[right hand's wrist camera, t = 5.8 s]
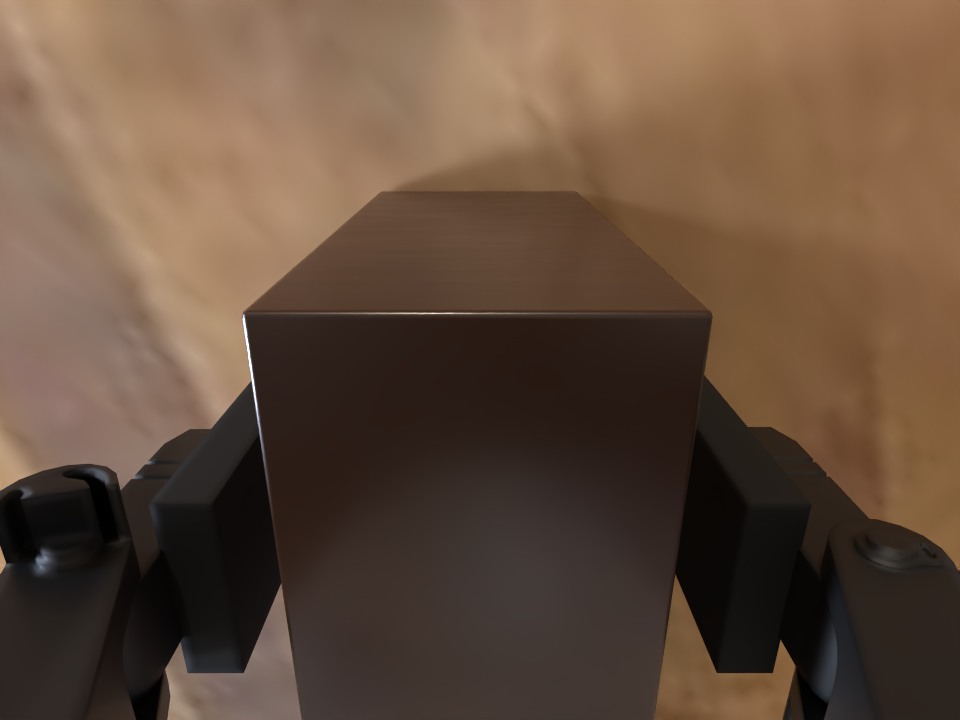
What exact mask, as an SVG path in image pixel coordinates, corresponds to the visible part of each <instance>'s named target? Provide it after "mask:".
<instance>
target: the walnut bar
mask: <svg viewBox="0 0 960 720" xmlns="http://www.w3.org/2000/svg"><path fill="white" fill-rule="evenodd" d="M242 320H243V327H244V334H245V340H246V347H247V354H248V361H249V367H250V374H251V381H252V387H253V394H254V401H255V408H256V414H257V421H258V428H259V435H260V441H261V448H262V455H263V462H264V468H265V475H266V482H267V489H268V495H269V502H270V509H271V516H272V522H273V529H274V536H275V543H276V549H277V556H278V563H279V569H280V576H281V583H282V590H283V596H284V603H285V610H286V617H287V623H288V630H289V637H290V644H291V650H292V657H293V664H294V671H295V677H296V684H297V691H298V698H299V704H300V711H301V718H302V720H654V716H655V709H656V702H657V695H658V688H659V681H660V675H661V668H662V661H663V654H664V647H665V640H666V633H667V626H668V619H669V613H670V606H671V599H672V592H673V585H674V578H675V571H676V564H677V557H678V551H679V544H680V537H681V530H682V523H683V516H684V509H685V502H686V495H687V489H688V482H689V475H690V468H691V461H692V454H693V447H694V440H695V433H696V427H697V420H698V413H699V406H700V399H701V392H702V385H703V378H704V371H705V365H706V358H707V351H708V344H709V337H710V330H711V323H712V314H711V311H709V310H708V309H707V308H706V307H705V306H704V305H703V304H702V303H700V302H699V301H698V300H697V299H696V298H695V297H694V296H693V295H692V294H690V293H689V292H688V291H687V290H686V289H685V288H684V287H683V286H681V285H680V284H679V283H678V282H677V281H676V280H675V279H674V278H673V277H671V276H670V275H669V274H668V273H667V272H666V271H665V270H664V269H662V268H661V267H660V266H659V265H658V264H657V263H656V262H655V261H654V260H652V259H651V258H650V257H649V256H648V255H647V254H646V253H645V252H643V251H642V250H641V249H640V248H639V247H638V246H637V245H636V244H635V243H633V242H632V241H631V240H630V239H629V238H628V237H627V236H626V235H624V234H623V233H622V232H621V231H620V230H619V229H618V228H617V227H616V226H614V225H613V224H612V223H611V222H610V221H609V220H608V219H607V218H605V217H604V216H603V215H602V214H601V213H600V212H599V211H598V210H597V209H595V208H594V207H593V206H592V205H591V204H590V203H589V202H588V201H586V200H585V199H584V198H583V197H582V196H581V195H580V194H579V193H577V192H380V193H379V194H378V195H377V196H376V197H374V198H373V199H372V200H371V201H370V202H369V203H368V204H366V205H365V206H364V207H363V208H362V209H361V210H360V211H358V212H357V213H356V214H355V215H354V216H353V217H352V218H350V219H349V220H348V221H347V222H346V223H345V224H343V225H342V226H341V227H340V228H339V229H338V230H337V231H335V232H334V233H333V234H332V235H331V236H330V237H329V238H327V239H326V240H325V241H324V242H323V243H322V244H321V245H319V246H318V247H317V248H316V249H315V250H314V251H313V252H311V253H310V254H309V255H308V256H307V257H306V258H305V259H303V260H302V261H301V262H300V263H299V264H298V265H297V266H295V267H294V268H293V269H292V270H291V271H290V272H289V273H287V274H286V275H285V276H284V277H283V278H282V279H280V280H279V281H278V282H277V283H276V284H275V285H274V286H272V287H271V288H270V289H269V290H268V291H267V292H266V293H264V294H263V295H262V296H261V297H260V298H259V299H258V300H256V301H255V302H254V303H253V304H252V305H251V306H250V307H248V308H247V309H246V310H245V311H244V312H243V315H242Z"/></svg>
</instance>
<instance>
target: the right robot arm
mask: <svg viewBox="0 0 960 720" xmlns="http://www.w3.org/2000/svg"><path fill="white" fill-rule="evenodd" d="M0 546H1V549H2V552H3V555H4V558H5V561H6V565H5V567H4V569H3V571H2V573H1V574H0V720H167V717H168V709H169V702H170V691H169V683H168V679H167V675H166V671H165V668H166V666H167V665H168V663H169V661H170V659H171V657H172V656H173V654H174V652H175V650H176V649H177V647H178V645H179V643H180V641H181V646H182V650H183V654H184V658H185V663H186V667H187V671H188V673H244V671H245V668H246V666H247V663H248V661H249V659H250V656H251V654H252V652H253V649H254V647H255V644H256V642H257V640H258V637H259V635H260V632H261V630H262V628H263V625H264V623H265V620H266V618H267V616H268V613H269V611H270V608H271V606H272V604H273V601H274V599H275V596H276V594H277V592H278V589H279V587H280V585H281V576H280V569H279V563H278V556H277V549H276V543H275V536H274V529H273V522H272V516H271V509H270V502H269V495H268V489H267V482H266V475H265V468H264V462H263V455H262V448H261V441H260V435H259V428H258V421H257V414H256V408H255V401H254V394H253V387H252V381H251V382H250V383H249V384H248V386H247V387H246V388H245V389H244V390H243V392H242V393H241V394H240V395H239V396H238V398H237V399H236V400H235V401H234V402H233V404H232V405H231V406H230V407H229V408H228V410H227V411H226V412H225V413H224V414H223V416H222V417H221V418H220V419H219V420H218V422H217V423H216V424H215V425H214V426H213V428H212V429H190V430H188V431H186V432H184V433H183V434H181V435H179V436H177V437H176V438H174V439H172V440H170V441H169V442H167V443H165V444H164V445H163V446H162V447H161V448H160V449H159V450H158V451H157V452H156V454H155V455H154V456H153V457H152V458H151V459H150V460H149V461H148V465H144V466H143V467H142V468H141V470H140V471H139V472H138V473H137V474H136V475H135V479H131V480H130V481H129V482H128V483H127V484H126V486H125V487H124V488H123V489H122V490H120V486H119V482H118V478H117V474H116V473H115V472H114V471H112V470H111V469H109V468H108V467H106V466H100V465H94V464H79V465H67V466H62V467H58V468H53V469H49V470H44V471H41V472H39V473H36V474H33V475H31V476H28V477H26V478H23V479H20V480H18V481H16V482H15V483H13V484H11V485H10V486H8V487H6V488H4V489H3V490H1V491H0ZM675 574H676V576H677V579H678V581H679V583H680V586H681V588H682V591H683V593H684V595H685V598H686V600H687V603H688V605H689V607H690V610H691V612H692V614H693V617H694V619H695V622H696V624H697V626H698V629H699V631H700V634H701V636H702V638H703V641H704V643H705V646H706V648H707V650H708V653H709V655H710V658H711V660H712V662H713V665H714V667H715V669H716V672H717V673H773V669H774V665H775V661H776V656H777V652H778V648H779V644H780V639H781V641H782V642H783V644H784V646H785V648H786V650H787V651H788V653H789V655H790V657H791V658H792V660H793V662H794V664H795V666H796V667H795V671H794V675H793V679H792V683H791V687H790V691H789V695H788V699H787V703H786V707H785V711H784V715H783V719H782V720H960V571H958V570H957V568H956V566H955V564H954V562H953V561H952V560H951V559H950V558H949V557H948V555H947V554H946V553H945V552H944V551H943V549H942V548H940V547H939V546H937V545H936V544H934V543H933V542H931V541H930V540H928V539H927V538H926V537H924V536H922V535H920V534H918V533H916V532H913V531H911V530H909V529H907V528H904V527H902V526H900V525H896V524H892V523H888V522H884V521H881V520H876V519H869V518H868V517H867V516H866V515H865V514H864V513H863V512H862V511H861V509H860V508H859V507H858V506H857V505H856V504H855V503H854V502H853V501H852V500H851V499H850V498H849V497H848V496H847V495H846V494H845V493H844V491H843V490H842V489H841V488H840V487H839V486H838V485H837V484H836V483H835V482H834V481H833V480H832V479H831V478H830V477H826V472H825V471H824V470H823V469H822V468H821V467H820V466H819V465H818V464H817V463H816V462H813V459H812V458H811V457H810V456H809V454H808V453H807V452H806V451H805V450H804V449H803V448H802V447H801V446H800V445H799V444H798V443H797V442H796V441H794V440H792V439H791V438H789V437H787V436H785V435H784V434H782V433H780V432H778V431H777V430H775V429H773V428H771V427H747V426H746V425H745V423H744V422H743V421H742V420H741V419H740V417H739V416H738V415H737V414H736V413H735V411H734V410H733V409H732V408H731V407H730V405H729V404H728V403H727V402H726V401H725V399H724V398H723V397H722V396H721V395H720V393H719V392H718V391H717V390H716V389H715V387H714V386H713V385H712V384H711V383H710V381H709V380H708V379H707V378H706V377H705V375H704V378H703V385H702V392H701V399H700V406H699V413H698V420H697V427H696V433H695V440H694V447H693V454H692V461H691V468H690V475H689V482H688V489H687V495H686V502H685V509H684V516H683V523H682V530H681V537H680V544H679V551H678V557H677V564H676V571H675Z"/></svg>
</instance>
